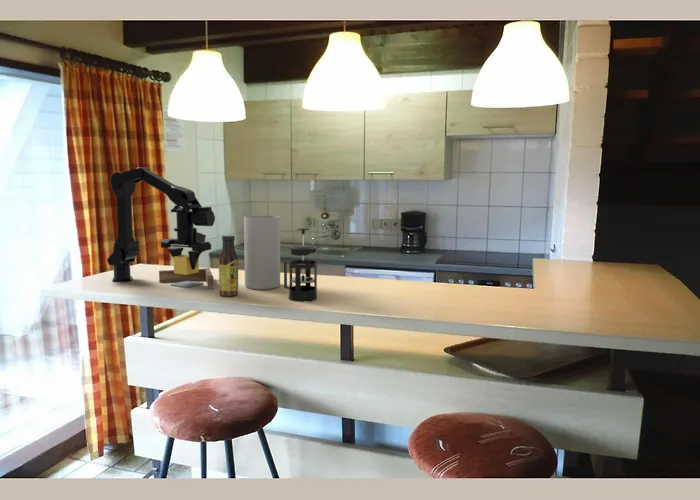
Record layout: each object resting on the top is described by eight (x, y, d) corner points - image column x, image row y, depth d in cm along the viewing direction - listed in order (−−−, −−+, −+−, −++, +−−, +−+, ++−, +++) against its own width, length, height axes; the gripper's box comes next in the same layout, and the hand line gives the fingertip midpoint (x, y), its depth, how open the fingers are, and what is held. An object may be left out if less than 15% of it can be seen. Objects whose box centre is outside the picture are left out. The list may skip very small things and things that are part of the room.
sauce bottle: (233, 297, 167) (232, 237, 164) (215, 296, 168) (214, 236, 165) (241, 293, 174) (240, 234, 171) (224, 292, 175) (223, 234, 172)
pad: (170, 285, 184) (170, 284, 183) (186, 281, 191) (186, 280, 191) (187, 288, 180) (187, 286, 180) (203, 283, 187) (203, 282, 187)
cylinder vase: (274, 281, 193) (273, 215, 189) (284, 288, 182) (284, 217, 178) (241, 284, 188) (240, 215, 184) (250, 291, 176) (249, 218, 173)
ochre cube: (174, 273, 183) (173, 256, 182) (186, 270, 189) (185, 254, 188) (187, 274, 181) (186, 258, 180) (198, 272, 186) (198, 255, 185)
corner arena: (159, 281, 191) (159, 270, 190) (209, 278, 197) (209, 268, 196) (158, 291, 174) (158, 280, 173) (213, 288, 180) (213, 277, 179)
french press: (323, 296, 171) (323, 227, 167) (313, 303, 162) (313, 230, 159) (290, 293, 174) (290, 225, 171) (279, 299, 165) (278, 228, 162)
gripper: (221, 224, 186) (221, 267, 188) (181, 222, 193) (182, 262, 196) (199, 227, 176) (200, 272, 178) (158, 224, 183) (160, 267, 186)
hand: (186, 268), depth 185 cm, fingers closed on ochre cube, 6 cm apart
